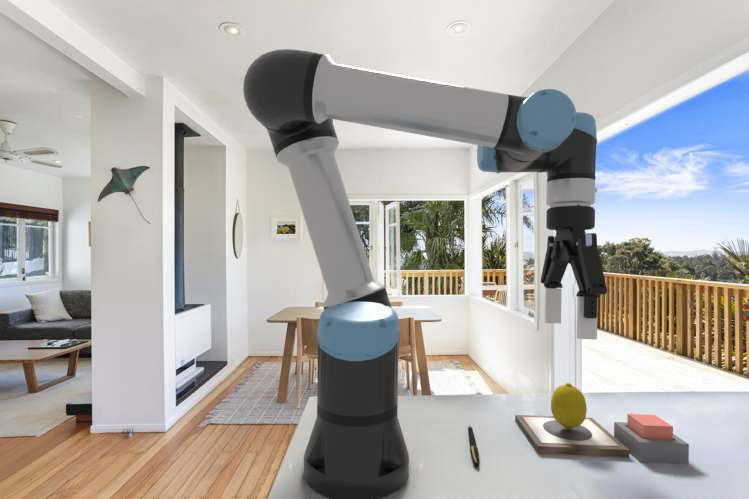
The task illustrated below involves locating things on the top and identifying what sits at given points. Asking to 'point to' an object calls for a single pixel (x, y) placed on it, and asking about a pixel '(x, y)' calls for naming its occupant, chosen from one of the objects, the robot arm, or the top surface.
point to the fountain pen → (473, 447)
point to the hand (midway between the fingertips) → (568, 330)
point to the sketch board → (569, 437)
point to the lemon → (568, 406)
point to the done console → (652, 446)
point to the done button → (650, 427)
